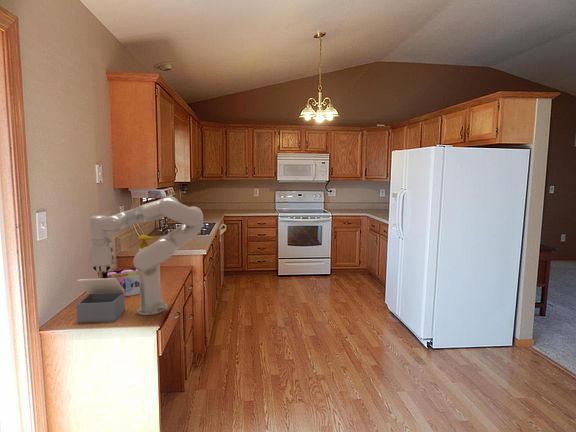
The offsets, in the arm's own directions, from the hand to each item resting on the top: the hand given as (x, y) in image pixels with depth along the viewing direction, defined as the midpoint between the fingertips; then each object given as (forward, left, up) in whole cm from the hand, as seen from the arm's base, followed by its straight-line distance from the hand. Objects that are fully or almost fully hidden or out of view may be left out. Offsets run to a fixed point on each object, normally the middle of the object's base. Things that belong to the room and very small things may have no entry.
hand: (103, 279), depth 176 cm
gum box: (+9, -26, -17) cm, 33 cm away
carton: (-1, +4, -17) cm, 17 cm away
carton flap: (-1, +2, -3) cm, 3 cm away
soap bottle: (+13, -50, -17) cm, 55 cm away
